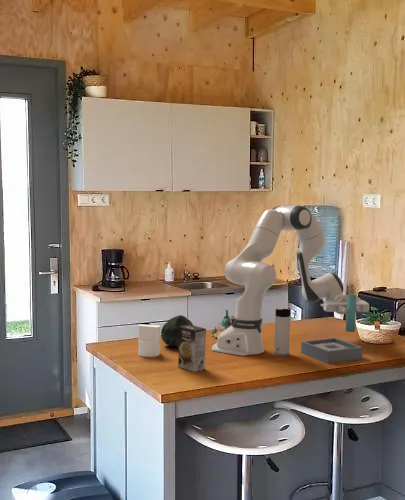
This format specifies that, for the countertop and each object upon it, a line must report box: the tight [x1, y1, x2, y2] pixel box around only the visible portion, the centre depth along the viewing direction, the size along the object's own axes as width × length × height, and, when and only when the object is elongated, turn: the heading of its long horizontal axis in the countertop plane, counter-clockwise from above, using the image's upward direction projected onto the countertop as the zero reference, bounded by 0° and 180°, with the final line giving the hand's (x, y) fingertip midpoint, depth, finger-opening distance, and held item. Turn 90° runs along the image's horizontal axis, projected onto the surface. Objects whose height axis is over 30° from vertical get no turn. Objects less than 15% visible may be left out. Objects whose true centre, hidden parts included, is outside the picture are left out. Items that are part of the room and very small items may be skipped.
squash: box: [160, 314, 194, 349], centre depth 278 cm, size 14×15×15 cm
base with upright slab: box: [138, 323, 161, 358], centre depth 265 cm, size 9×9×12 cm
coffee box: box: [177, 324, 207, 373], centre depth 245 cm, size 9×6×16 cm
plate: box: [313, 342, 349, 351], centre depth 268 cm, size 12×12×3 cm
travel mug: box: [273, 308, 291, 357], centre depth 268 cm, size 6×7×20 cm
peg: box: [345, 293, 358, 333], centre depth 278 cm, size 4×4×16 cm
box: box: [300, 337, 364, 365], centre depth 268 cm, size 18×18×5 cm
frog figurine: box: [210, 309, 234, 339], centre depth 294 cm, size 10×18×15 cm, turn 33°
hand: (352, 310), depth 277 cm, fingers closed on peg, 4 cm apart
